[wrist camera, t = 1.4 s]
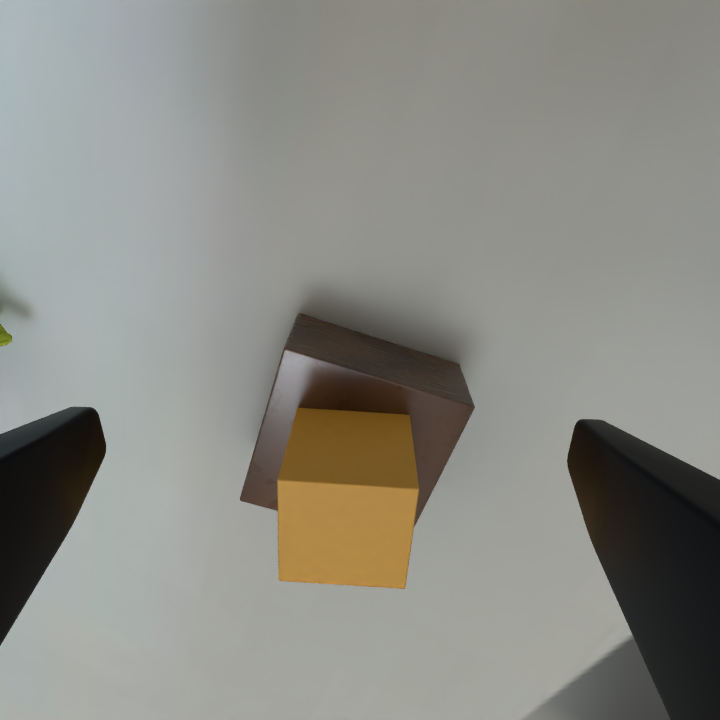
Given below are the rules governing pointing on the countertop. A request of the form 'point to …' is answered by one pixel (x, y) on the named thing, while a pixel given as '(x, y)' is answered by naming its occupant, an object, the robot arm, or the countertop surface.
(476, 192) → the countertop surface
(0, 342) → the bird rattle
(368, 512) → the ochre cube
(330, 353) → the walnut block
